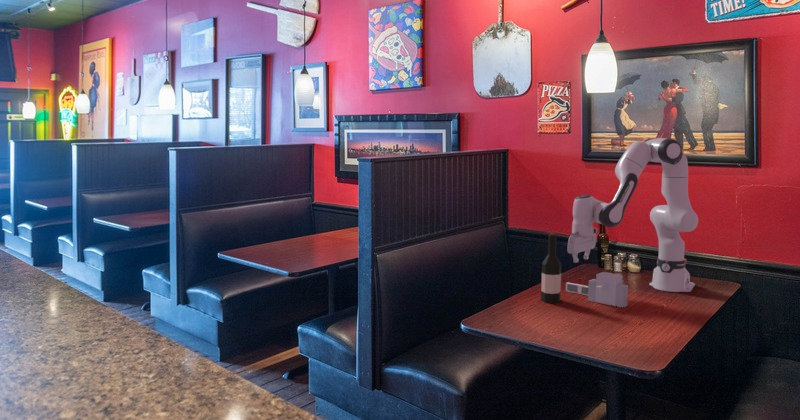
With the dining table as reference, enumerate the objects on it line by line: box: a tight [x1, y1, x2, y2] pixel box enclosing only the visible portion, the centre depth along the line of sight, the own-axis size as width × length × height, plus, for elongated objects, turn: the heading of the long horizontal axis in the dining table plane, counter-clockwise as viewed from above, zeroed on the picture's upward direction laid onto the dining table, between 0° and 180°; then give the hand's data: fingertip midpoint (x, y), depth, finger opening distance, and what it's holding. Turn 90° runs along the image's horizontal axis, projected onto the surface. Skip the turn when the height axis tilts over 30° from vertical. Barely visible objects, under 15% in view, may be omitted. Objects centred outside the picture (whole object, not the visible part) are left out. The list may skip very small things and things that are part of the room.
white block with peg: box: [587, 271, 629, 309], centre depth 261 cm, size 13×16×12 cm
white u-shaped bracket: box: [565, 281, 588, 297], centre depth 282 cm, size 10×14×4 cm
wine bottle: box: [540, 232, 562, 304], centre depth 266 cm, size 8×8×30 cm
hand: (581, 260), depth 277 cm, fingers open, 8 cm apart
